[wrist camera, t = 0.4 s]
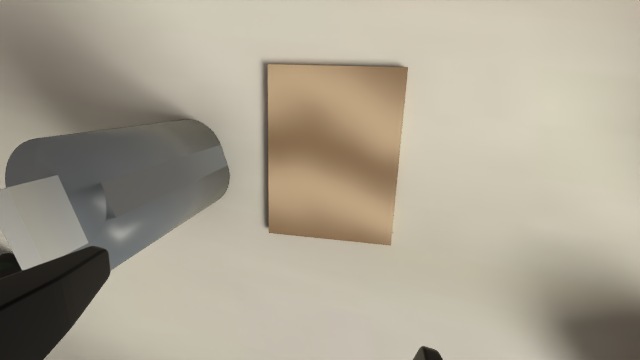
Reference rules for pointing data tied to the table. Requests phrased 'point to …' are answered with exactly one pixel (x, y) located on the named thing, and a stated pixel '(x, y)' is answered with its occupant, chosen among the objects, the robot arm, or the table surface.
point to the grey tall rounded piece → (108, 189)
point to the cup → (8, 265)
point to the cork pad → (334, 150)
